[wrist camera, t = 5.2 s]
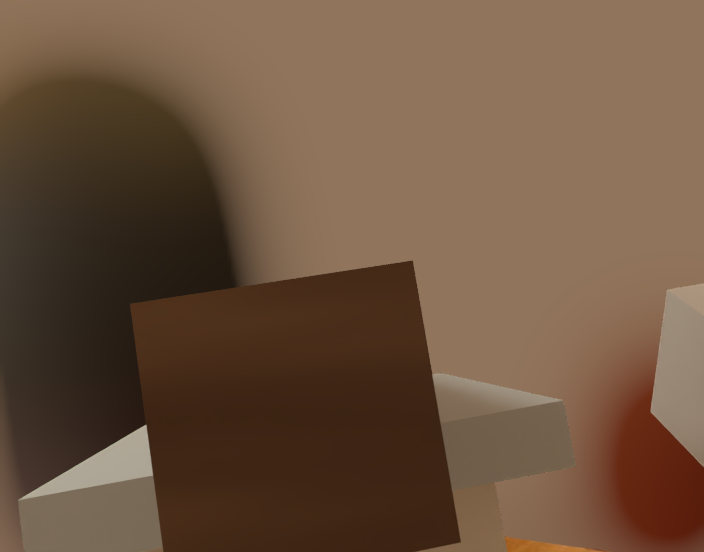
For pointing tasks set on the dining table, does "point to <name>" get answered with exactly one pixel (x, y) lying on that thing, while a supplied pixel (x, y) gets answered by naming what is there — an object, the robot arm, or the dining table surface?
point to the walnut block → (295, 417)
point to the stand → (475, 548)
